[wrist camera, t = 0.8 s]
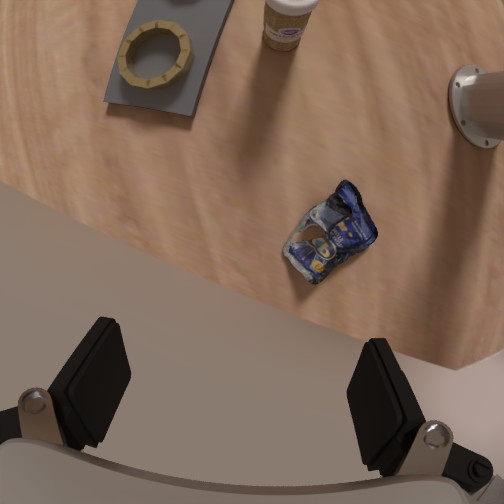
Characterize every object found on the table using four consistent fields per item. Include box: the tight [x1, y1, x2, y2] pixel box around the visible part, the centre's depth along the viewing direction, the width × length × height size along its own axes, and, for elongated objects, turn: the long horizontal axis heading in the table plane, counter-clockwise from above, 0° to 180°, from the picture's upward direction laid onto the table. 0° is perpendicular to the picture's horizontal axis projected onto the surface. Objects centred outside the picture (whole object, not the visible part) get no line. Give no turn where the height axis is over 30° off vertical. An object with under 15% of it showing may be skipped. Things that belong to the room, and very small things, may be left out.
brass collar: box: [118, 20, 195, 91], centre depth 26 cm, size 8×8×2 cm
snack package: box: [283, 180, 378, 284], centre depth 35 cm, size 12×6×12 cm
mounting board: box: [103, 0, 234, 117], centre depth 26 cm, size 26×12×2 cm, turn 164°
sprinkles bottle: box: [263, 0, 319, 51], centre depth 21 cm, size 5×5×14 cm
